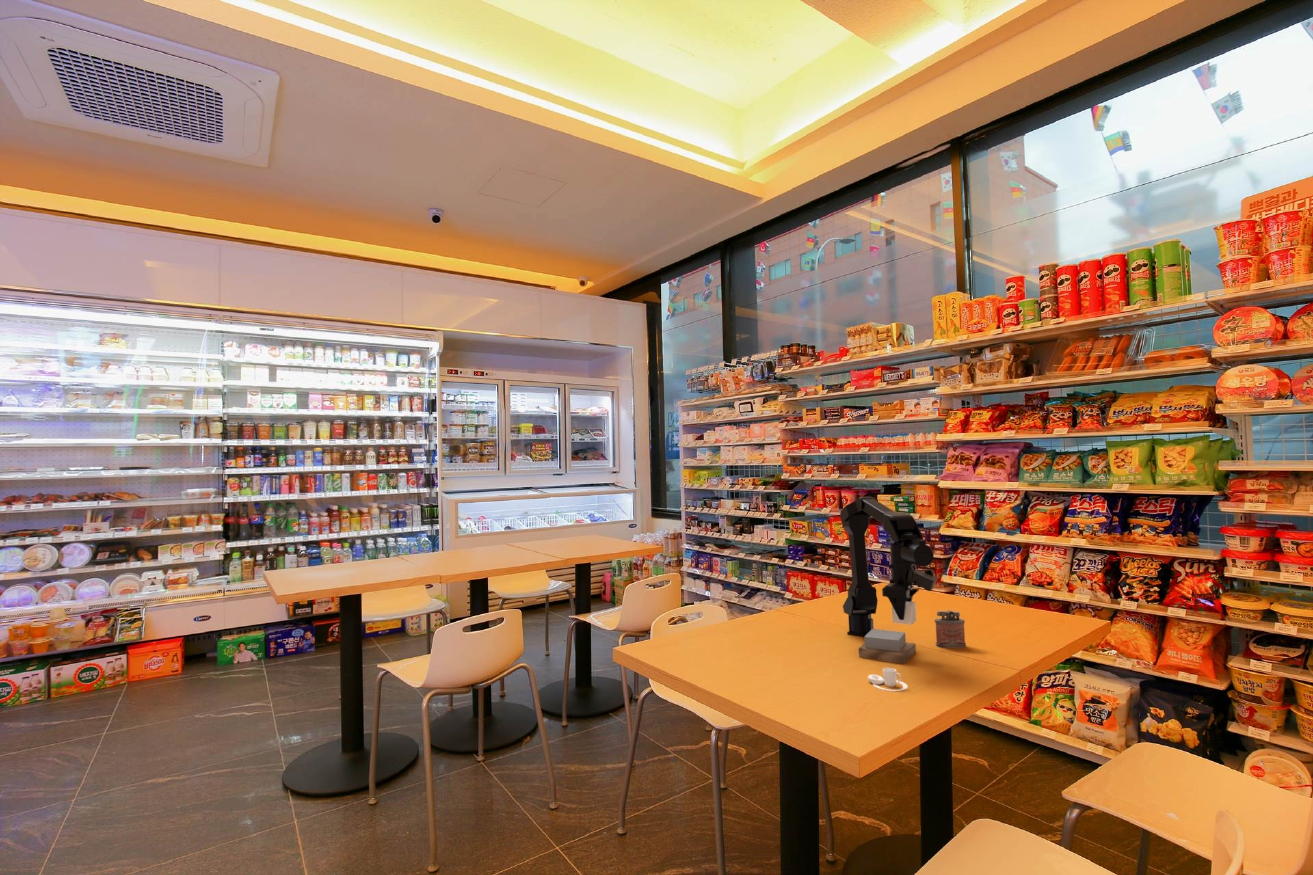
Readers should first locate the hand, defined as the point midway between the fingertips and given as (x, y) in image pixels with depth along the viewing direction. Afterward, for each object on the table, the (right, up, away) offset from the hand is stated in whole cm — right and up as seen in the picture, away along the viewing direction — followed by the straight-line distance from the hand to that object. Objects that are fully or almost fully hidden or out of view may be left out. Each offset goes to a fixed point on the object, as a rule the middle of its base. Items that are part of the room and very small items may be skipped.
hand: (904, 617), depth 169 cm
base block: (-4, -12, +2) cm, 12 cm away
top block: (-4, -9, +3) cm, 10 cm away
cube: (0, -1, 0) cm, 1 cm away
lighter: (+17, -11, +8) cm, 22 cm away
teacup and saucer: (-11, -11, -18) cm, 24 cm away
